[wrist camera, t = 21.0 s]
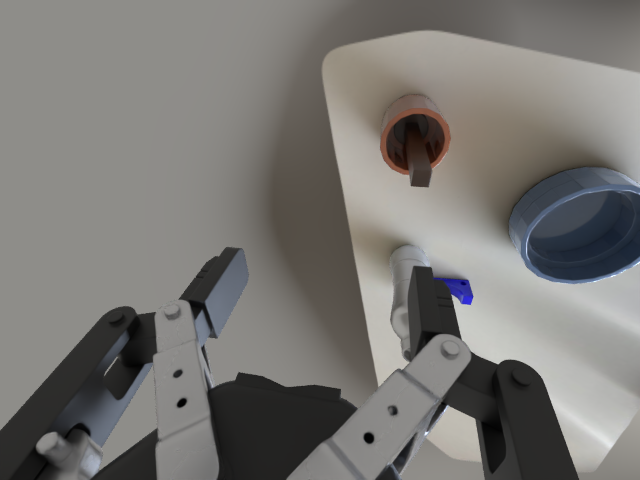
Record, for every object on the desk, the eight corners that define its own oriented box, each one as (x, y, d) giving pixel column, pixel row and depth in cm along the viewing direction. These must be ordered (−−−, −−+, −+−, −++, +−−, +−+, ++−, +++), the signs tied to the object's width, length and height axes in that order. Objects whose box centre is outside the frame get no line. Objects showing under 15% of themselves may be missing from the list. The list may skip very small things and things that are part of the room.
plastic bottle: (415, 233, 51) (427, 331, 35) (435, 261, 53) (455, 363, 37) (381, 250, 54) (379, 346, 38) (402, 275, 56) (408, 376, 40)
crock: (384, 93, 40) (384, 107, 33) (446, 95, 39) (457, 109, 32) (379, 151, 44) (377, 173, 38) (434, 154, 43) (442, 176, 37)
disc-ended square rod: (395, 109, 40) (399, 153, 26) (430, 110, 39) (453, 155, 26) (391, 143, 43) (393, 199, 29) (424, 144, 42) (441, 202, 28)
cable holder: (418, 290, 58) (420, 306, 54) (421, 276, 56) (423, 292, 52) (464, 294, 56) (468, 310, 53) (468, 280, 54) (473, 296, 51)
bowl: (529, 162, 41) (548, 180, 36) (661, 168, 39) (700, 189, 34) (494, 252, 50) (505, 277, 45) (599, 262, 48) (623, 289, 43)
